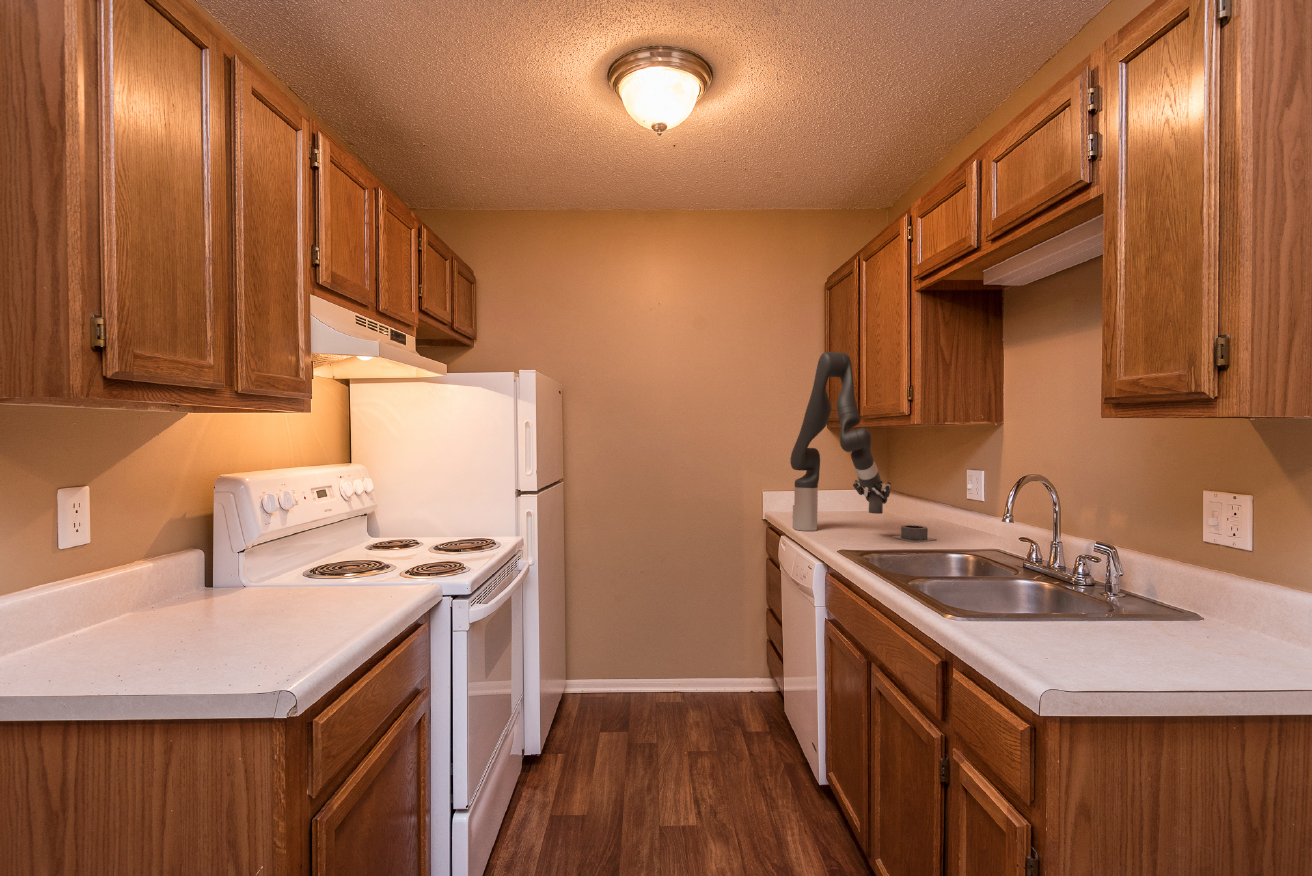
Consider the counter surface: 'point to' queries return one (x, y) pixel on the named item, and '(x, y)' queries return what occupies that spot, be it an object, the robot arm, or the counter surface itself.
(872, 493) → the grey round peg
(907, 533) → the hex nut base plate
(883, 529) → the counter surface
